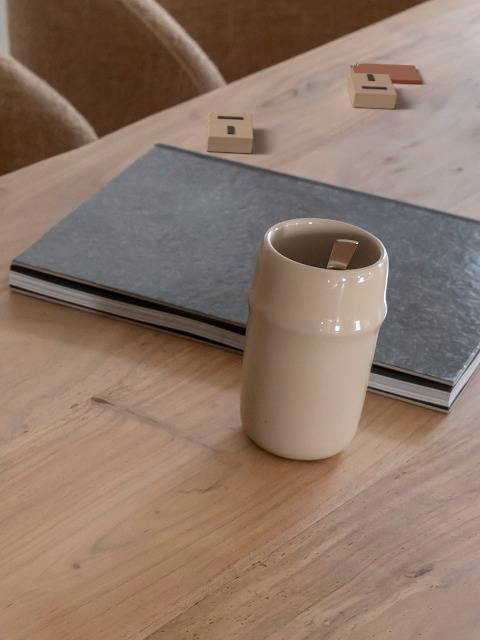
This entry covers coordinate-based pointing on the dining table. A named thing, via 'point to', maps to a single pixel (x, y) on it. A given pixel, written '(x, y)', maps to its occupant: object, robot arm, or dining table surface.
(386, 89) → the beige block
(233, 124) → the left block
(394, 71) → the reddish brown square tile
